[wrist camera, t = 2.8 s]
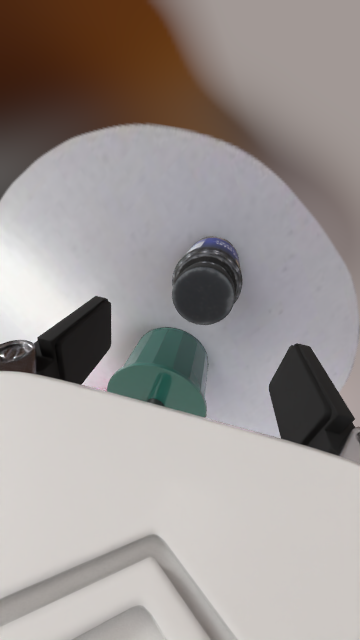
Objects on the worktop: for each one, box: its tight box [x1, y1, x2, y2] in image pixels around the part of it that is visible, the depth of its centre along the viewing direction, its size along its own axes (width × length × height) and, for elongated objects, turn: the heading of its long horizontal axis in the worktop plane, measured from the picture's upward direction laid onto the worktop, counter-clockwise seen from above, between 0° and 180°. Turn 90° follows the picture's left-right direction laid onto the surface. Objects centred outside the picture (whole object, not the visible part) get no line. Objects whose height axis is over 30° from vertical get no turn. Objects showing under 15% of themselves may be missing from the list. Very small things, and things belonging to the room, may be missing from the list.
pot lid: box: [107, 362, 207, 418], centre depth 24 cm, size 13×13×6 cm
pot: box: [123, 327, 208, 398], centre depth 30 cm, size 12×12×8 cm
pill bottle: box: [172, 237, 242, 325], centre depth 20 cm, size 6×6×11 cm
